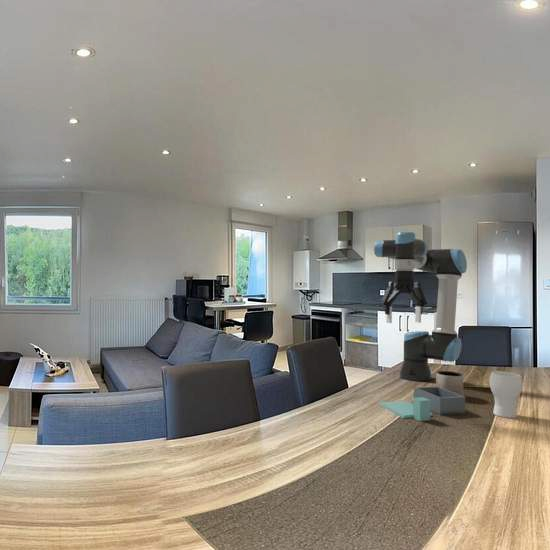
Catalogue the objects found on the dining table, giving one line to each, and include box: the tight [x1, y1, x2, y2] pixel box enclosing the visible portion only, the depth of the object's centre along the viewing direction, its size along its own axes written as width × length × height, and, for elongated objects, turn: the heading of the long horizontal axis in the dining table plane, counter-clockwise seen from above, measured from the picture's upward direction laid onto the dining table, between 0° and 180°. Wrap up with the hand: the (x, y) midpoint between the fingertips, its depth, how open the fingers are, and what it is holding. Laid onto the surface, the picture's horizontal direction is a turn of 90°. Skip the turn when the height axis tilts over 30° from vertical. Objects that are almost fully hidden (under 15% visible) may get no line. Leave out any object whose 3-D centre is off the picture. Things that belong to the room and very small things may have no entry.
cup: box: [489, 370, 523, 419], centre depth 163 cm, size 11×11×15 cm
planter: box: [435, 370, 464, 396], centre depth 188 cm, size 11×11×10 cm
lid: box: [379, 397, 433, 422], centre depth 163 cm, size 21×12×7 cm, turn 17°
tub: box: [413, 385, 466, 416], centre depth 170 cm, size 16×11×6 cm
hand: (403, 322), depth 180 cm, fingers open, 13 cm apart
